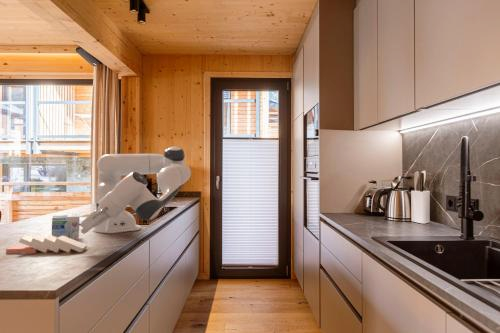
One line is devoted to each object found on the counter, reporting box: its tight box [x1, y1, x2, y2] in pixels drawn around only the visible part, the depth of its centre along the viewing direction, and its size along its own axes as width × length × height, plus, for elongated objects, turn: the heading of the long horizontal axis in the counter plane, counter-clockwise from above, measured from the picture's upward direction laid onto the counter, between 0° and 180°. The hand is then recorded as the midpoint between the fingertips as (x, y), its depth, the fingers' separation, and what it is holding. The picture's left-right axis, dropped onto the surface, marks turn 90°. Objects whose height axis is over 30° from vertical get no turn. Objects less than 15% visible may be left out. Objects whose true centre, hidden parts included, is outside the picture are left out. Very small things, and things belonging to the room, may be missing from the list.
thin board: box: [22, 246, 102, 256], centre depth 124 cm, size 24×10×1 cm, turn 97°
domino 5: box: [55, 235, 88, 252], centre depth 124 cm, size 2×5×10 cm
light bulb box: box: [51, 213, 80, 240], centre depth 146 cm, size 11×7×11 cm, turn 117°
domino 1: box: [5, 245, 40, 255], centre depth 122 cm, size 2×5×10 cm
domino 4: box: [43, 234, 73, 253], centre depth 124 cm, size 2×5×10 cm
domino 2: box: [18, 234, 50, 253], centre depth 123 cm, size 2×5×10 cm
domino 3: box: [31, 234, 61, 253], centre depth 123 cm, size 2×5×10 cm
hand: (83, 232), depth 124 cm, fingers closed
